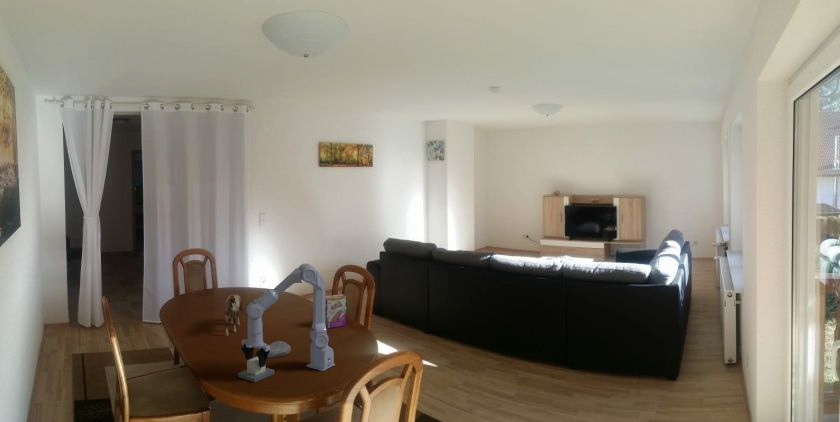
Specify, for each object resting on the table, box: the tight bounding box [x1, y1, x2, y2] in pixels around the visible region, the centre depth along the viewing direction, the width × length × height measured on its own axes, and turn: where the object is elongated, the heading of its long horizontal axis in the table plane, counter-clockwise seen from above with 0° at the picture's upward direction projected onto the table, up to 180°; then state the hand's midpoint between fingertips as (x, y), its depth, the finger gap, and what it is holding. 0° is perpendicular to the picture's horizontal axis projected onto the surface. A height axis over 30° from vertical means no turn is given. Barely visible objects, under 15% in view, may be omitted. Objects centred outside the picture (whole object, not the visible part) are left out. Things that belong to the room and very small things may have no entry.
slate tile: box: [237, 366, 275, 383], centre depth 209 cm, size 10×10×2 cm
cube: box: [246, 356, 266, 375], centre depth 209 cm, size 5×5×5 cm
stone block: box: [267, 340, 292, 359], centre depth 233 cm, size 12×5×10 cm
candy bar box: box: [325, 294, 347, 330], centre depth 271 cm, size 11×5×16 cm, turn 120°
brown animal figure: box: [223, 294, 247, 337], centre depth 266 cm, size 31×8×21 cm, turn 10°
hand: (256, 364), depth 209 cm, fingers open, 7 cm apart
